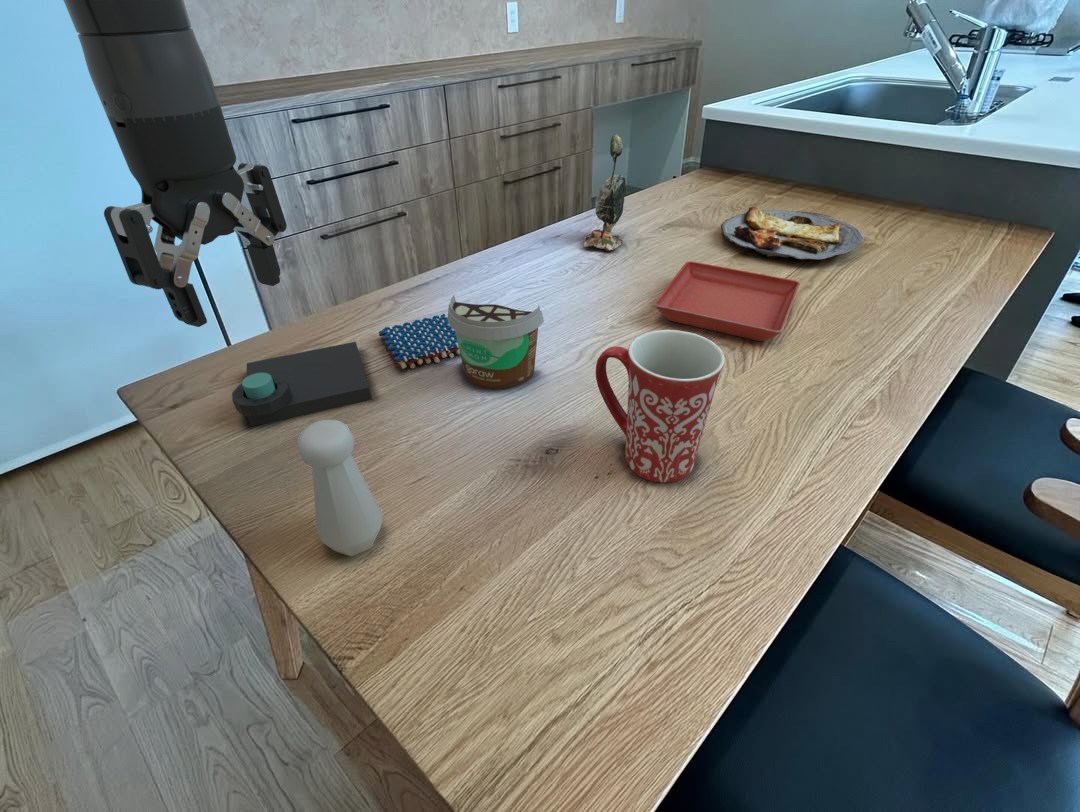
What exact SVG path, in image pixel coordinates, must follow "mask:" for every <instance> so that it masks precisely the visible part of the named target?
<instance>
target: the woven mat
mask: <svg viewBox="0 0 1080 812" xmlns="http://www.w3.org/2000/svg"><path fill="white" fill-rule="evenodd" d="M447 318H448V316H446V314H445V313H442V314H441V315H439V314H437V315H433V316H429V318H428V317H422V318H419V319H415V320H414V321H413V322H412V321H410V322H407V321H405V322H404V323H400V324H395V325H393V326H385V327H384V328H382V330H378V336H379V337H380V340H381V341H382V342H383V344H384V346H385V347H386V351H388V353H389V355H390V356H391V358H392V360H393V361H394V363H395V364H396V365H395V367H396V368H399V369H402V370H404V369H406V368H407V367H408V366H409V368H410V369H412V370H413V369H415V368H416V364H415V363H417V365H420V366H421V365H422V364H423V363H424V361H425V363H426V364H428V365H429V364H431V363H432V360H433V361H434V363H437V364H440V362H441V360H440V358H443V359H445V358H448V356H449V358H450V359H453V358H454V357H455V354H457V355H460V350H459V346H458V341H457V337H456V332H455V330H453V329H452V328H451V327H450V325H449V324H448V320H447ZM454 352H455V354H454ZM439 357H440V358H439ZM431 358H432V360H431Z"/></svg>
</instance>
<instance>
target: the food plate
mask: <svg viewBox="0 0 1080 812" xmlns="http://www.w3.org/2000/svg"><path fill="white" fill-rule="evenodd" d="M720 229H721V235H723V237H724V238H726V239H725V241H728V242H730V243H731V242H734V243H735V245H736V246H738V247H744V248H749V249H752V250H754V251H755V252H757V253H759V254H762V255H766V257H780V258H790V257H792V258H794V259H797V260H825V259H827V258H833V257H834V256H837V255H843V254H846V253H849V252H851V251H853V250H856V249H857V248H858V247H859V246H860V245H861V244H862V243H863V241H864V240H865V236H864V235H863V234H862V232H861V230H860V229H859V228H858V227H856V226H854V224H851V223H849V222H847V221H844V220H839V219H838V218H834V217H832V216H830V215H827V214H823V213H818V212H809V211H800V210H787V209H766V210H761V209H760V208H759V207H757V206H750V207H749V208H748V210H747V211H746V212H744V213H740V214H739V213H738V214H736V215H734V216H730V217H729V218H727V219H725V220H724V221H723V222H722V223H721V225H720Z"/></svg>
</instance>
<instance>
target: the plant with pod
mask: <svg viewBox="0 0 1080 812" xmlns="http://www.w3.org/2000/svg"><path fill="white" fill-rule="evenodd" d="M623 145H624V144H623V140H622V137H620V136H619V135H618V133H616V134H614V135H612V137H611V139H610V146H609V147H610V149H609V154H610V156H611V158H612V161H613V169H612V175H610V176H609V177H608V178H607V179H606V180H605V181H604V183H603V184H602V185H601V187H600V188H599V189H598V192H597V194H596V196H595V204H594V208H595V216H596V217H597V219H598V220H600V221H602V222H603V225H602V230H601V229H593V231H592V232H591V233H588V234H587V236H585V237H583V248H589V247H594V248H598V249H600V250H601V249H602V250H605V251H606V252H611V251H614V250H616V249H617V248H619V246H622V245H623V243H624V242H623V239H621V236H620V235H619V234H618V235H616V234H615V235H613V234H612V233H613V232H612V230H613V228H614V227H615V226H616V225H617V223H618V222H619V220H620V219H621V217H622V215H623V212H624V205H625V196H626V192H627V186H626V185H627V183H626V177H625V176H623V175H621V174H615V170H616V164H617V158H619V157H620V156H621V155H622V153H623V150H624V146H623ZM625 175H626V176H628V174H627V173H626V174H625Z"/></svg>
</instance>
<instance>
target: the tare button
mask: <svg viewBox="0 0 1080 812" xmlns="http://www.w3.org/2000/svg"><path fill="white" fill-rule="evenodd" d="M241 384H242V386H243V388H244V391H245V393H246V396H247V398H249V399H254V400H257V399H262V398H266V397H268V396H270V395H272V394H273V393H274V392H275V386H274V383H273V380H272V377H271V375H270V374H268V373H256V374H252V375H250V376H248V377H247V376H246V377H244V379H243V380H242V382H241Z"/></svg>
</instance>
